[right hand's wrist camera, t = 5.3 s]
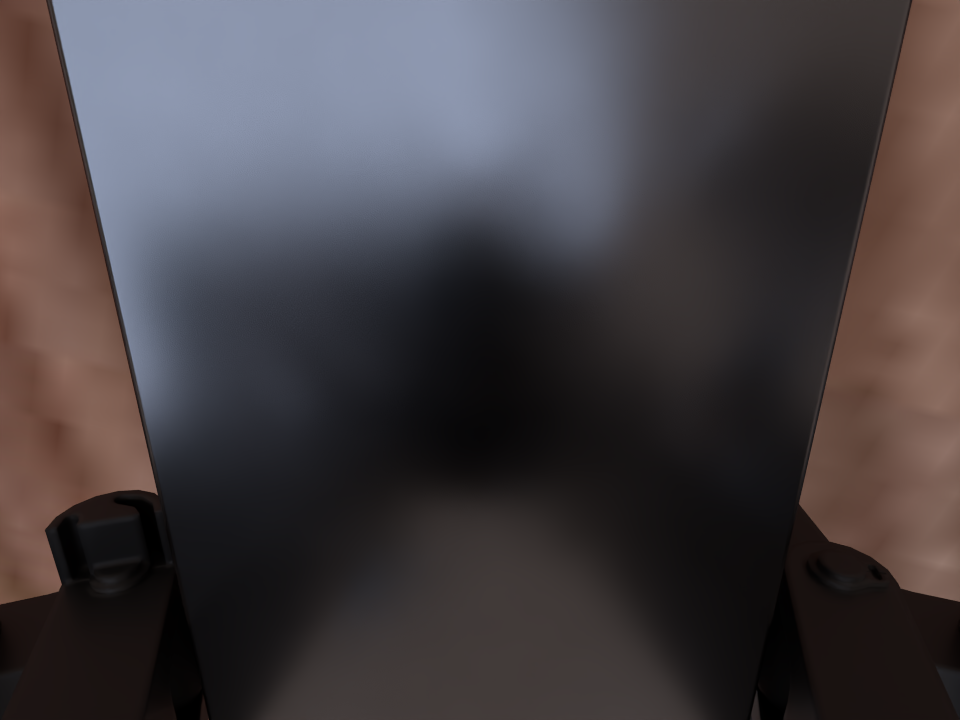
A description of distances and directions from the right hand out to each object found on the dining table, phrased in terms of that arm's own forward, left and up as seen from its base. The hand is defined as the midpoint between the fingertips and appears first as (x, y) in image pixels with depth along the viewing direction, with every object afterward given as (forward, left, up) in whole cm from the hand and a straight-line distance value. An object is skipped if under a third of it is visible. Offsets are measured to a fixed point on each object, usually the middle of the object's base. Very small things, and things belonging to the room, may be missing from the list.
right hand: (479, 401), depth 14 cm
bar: (+7, +4, 0) cm, 8 cm away
